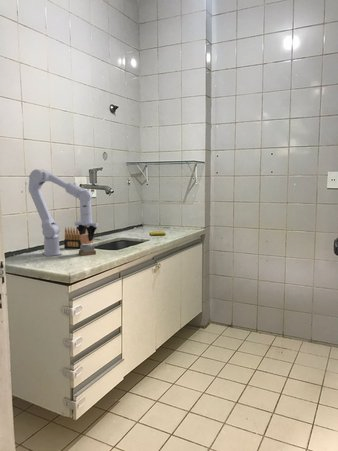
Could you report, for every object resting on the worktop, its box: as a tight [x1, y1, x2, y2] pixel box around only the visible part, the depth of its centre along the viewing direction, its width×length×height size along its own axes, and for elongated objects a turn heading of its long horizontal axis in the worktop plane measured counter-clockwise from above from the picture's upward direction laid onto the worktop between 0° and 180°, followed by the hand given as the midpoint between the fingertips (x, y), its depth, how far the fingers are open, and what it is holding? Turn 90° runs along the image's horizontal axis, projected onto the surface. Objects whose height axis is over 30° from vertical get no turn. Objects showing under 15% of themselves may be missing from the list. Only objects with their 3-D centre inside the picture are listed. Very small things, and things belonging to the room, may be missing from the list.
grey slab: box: [79, 243, 95, 252], centre depth 196 cm, size 6×6×2 cm
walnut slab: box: [78, 249, 97, 257], centre depth 196 cm, size 7×7×2 cm
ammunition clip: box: [63, 227, 83, 250], centre depth 212 cm, size 11×2×12 cm, turn 74°
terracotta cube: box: [80, 233, 94, 245], centre depth 195 cm, size 4×4×4 cm
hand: (87, 240), depth 195 cm, fingers closed on terracotta cube, 4 cm apart
